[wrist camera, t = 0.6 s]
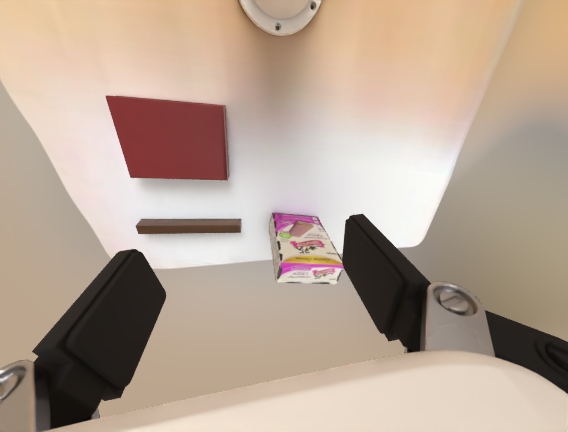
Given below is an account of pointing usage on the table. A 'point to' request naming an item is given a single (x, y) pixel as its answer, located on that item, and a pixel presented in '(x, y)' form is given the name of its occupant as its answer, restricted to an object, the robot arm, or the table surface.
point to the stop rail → (188, 226)
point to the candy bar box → (303, 251)
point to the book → (171, 138)
